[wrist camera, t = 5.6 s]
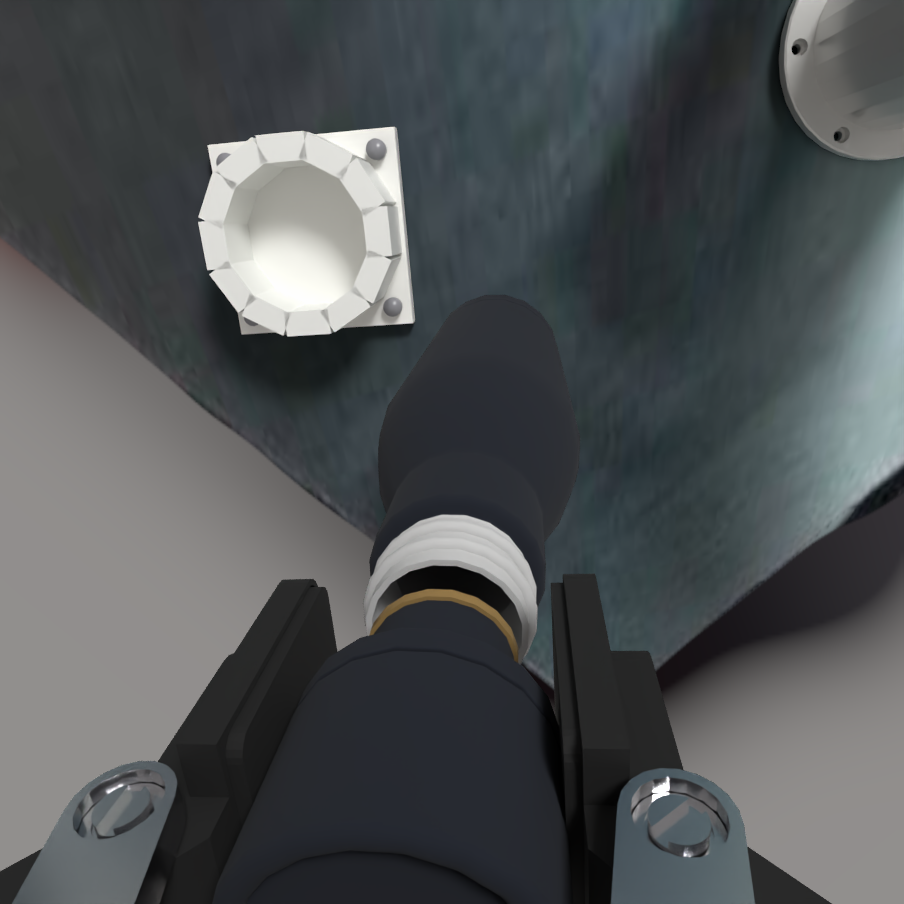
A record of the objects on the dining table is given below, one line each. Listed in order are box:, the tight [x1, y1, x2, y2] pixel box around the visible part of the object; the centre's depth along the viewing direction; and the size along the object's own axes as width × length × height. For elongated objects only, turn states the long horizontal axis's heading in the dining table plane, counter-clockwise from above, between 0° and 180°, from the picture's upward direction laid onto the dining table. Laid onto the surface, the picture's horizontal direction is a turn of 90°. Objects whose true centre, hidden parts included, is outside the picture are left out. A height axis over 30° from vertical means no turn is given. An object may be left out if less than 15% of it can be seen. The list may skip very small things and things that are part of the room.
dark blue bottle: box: [212, 295, 580, 904], centre depth 21 cm, size 6×6×30 cm
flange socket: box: [198, 127, 415, 337], centre depth 42 cm, size 12×12×5 cm
